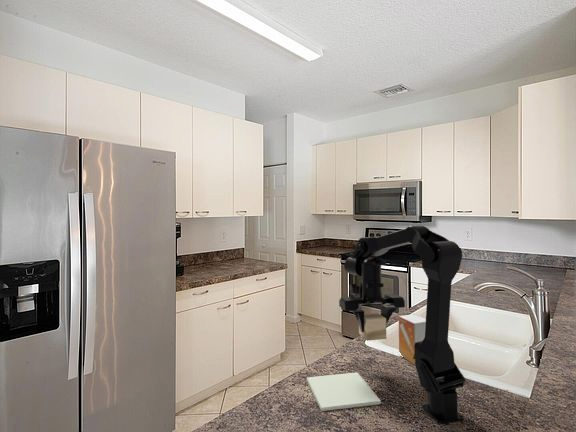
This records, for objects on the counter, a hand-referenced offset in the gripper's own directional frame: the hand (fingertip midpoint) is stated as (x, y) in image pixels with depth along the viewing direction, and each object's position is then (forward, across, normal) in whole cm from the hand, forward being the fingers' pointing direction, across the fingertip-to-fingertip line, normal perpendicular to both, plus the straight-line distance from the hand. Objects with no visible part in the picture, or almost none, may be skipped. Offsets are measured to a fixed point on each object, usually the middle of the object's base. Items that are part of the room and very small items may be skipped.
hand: (372, 331), depth 98 cm
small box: (+12, -16, -4) cm, 20 cm away
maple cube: (+2, 0, 0) cm, 2 cm away
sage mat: (+12, +13, +10) cm, 20 cm away
